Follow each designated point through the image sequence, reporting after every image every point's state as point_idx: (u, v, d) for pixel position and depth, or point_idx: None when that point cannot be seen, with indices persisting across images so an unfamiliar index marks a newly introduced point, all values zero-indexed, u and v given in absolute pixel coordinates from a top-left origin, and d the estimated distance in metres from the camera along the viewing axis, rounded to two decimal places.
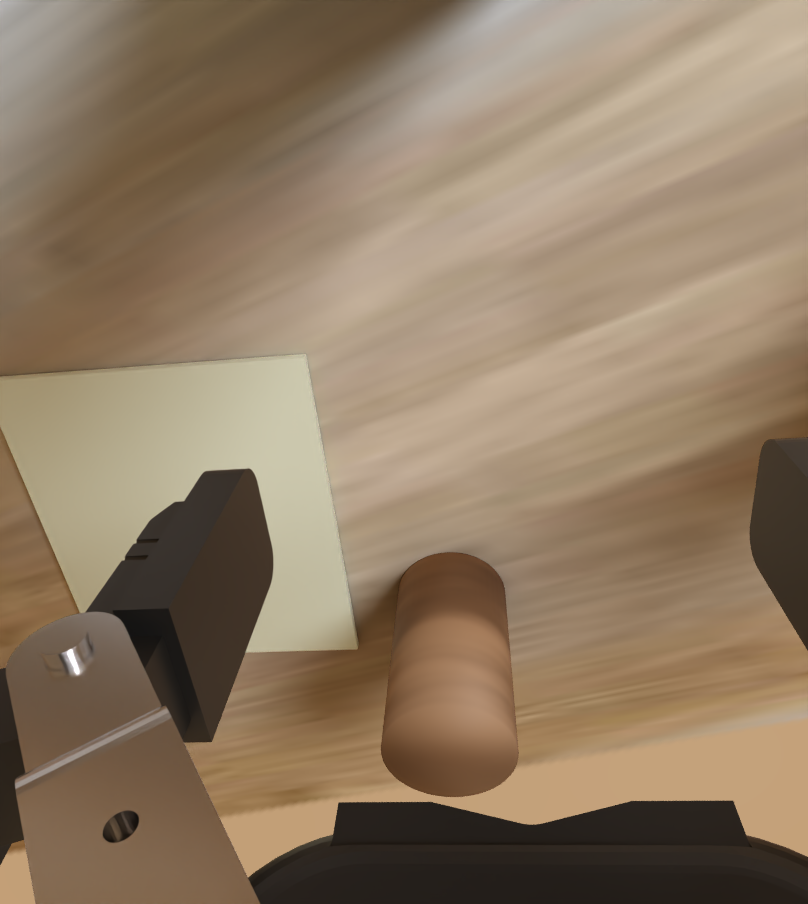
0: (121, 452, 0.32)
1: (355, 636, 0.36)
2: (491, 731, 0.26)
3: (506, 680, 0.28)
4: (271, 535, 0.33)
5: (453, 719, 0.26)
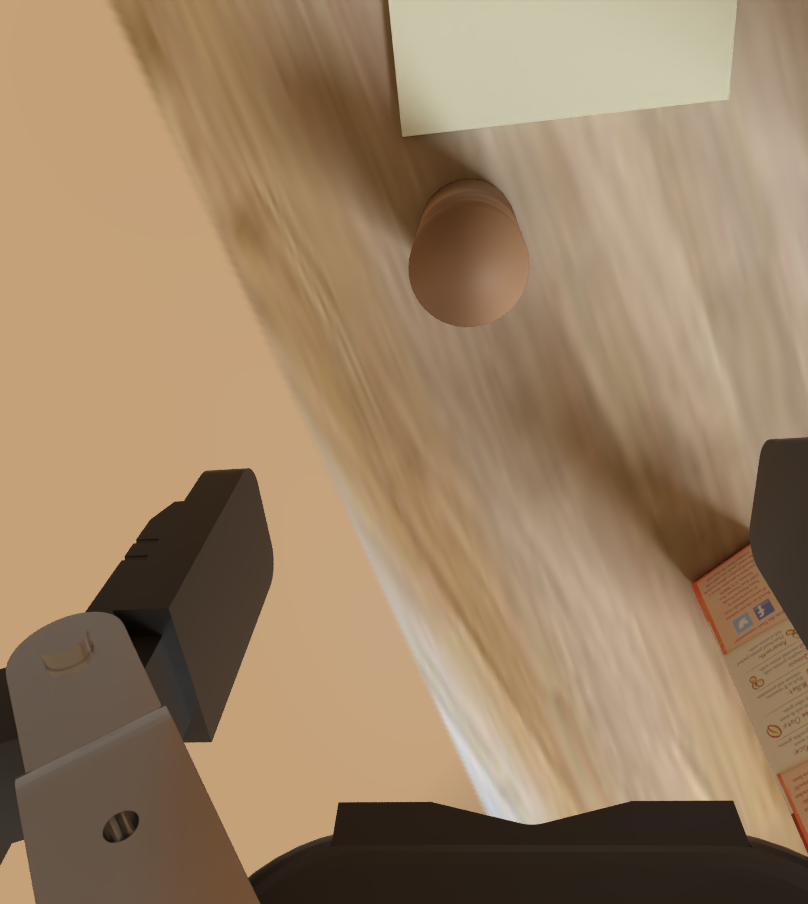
0: None
1: (418, 134, 0.36)
2: (497, 304, 0.32)
3: None
4: (546, 50, 0.34)
5: (512, 271, 0.31)
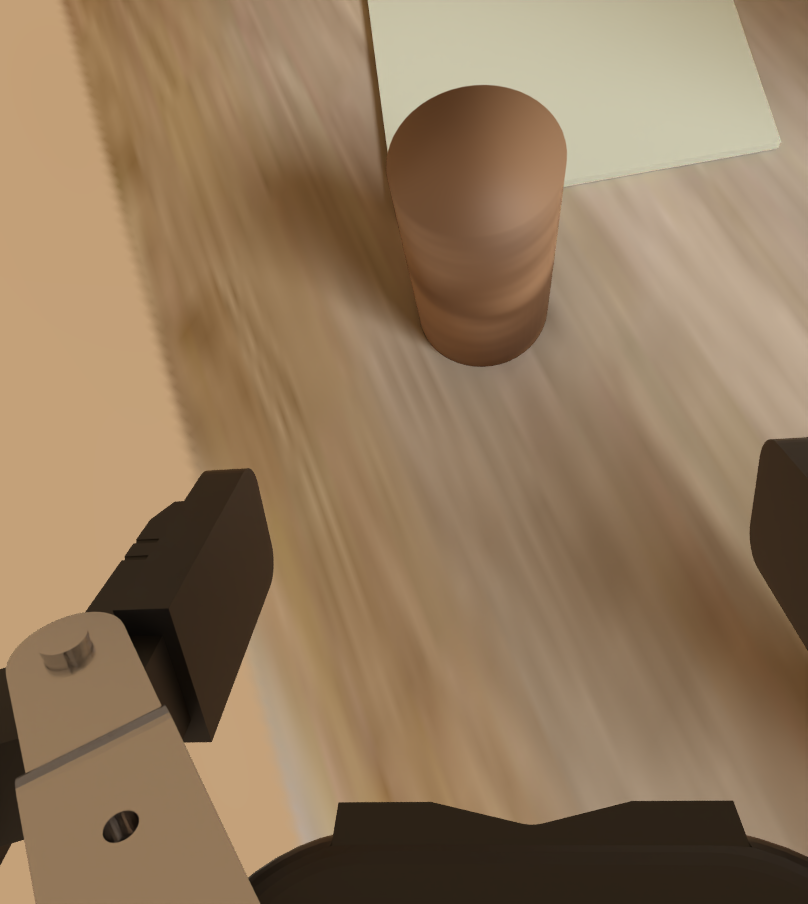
0: None
1: None
2: (525, 198, 0.20)
3: (524, 268, 0.22)
4: None
5: (541, 154, 0.20)
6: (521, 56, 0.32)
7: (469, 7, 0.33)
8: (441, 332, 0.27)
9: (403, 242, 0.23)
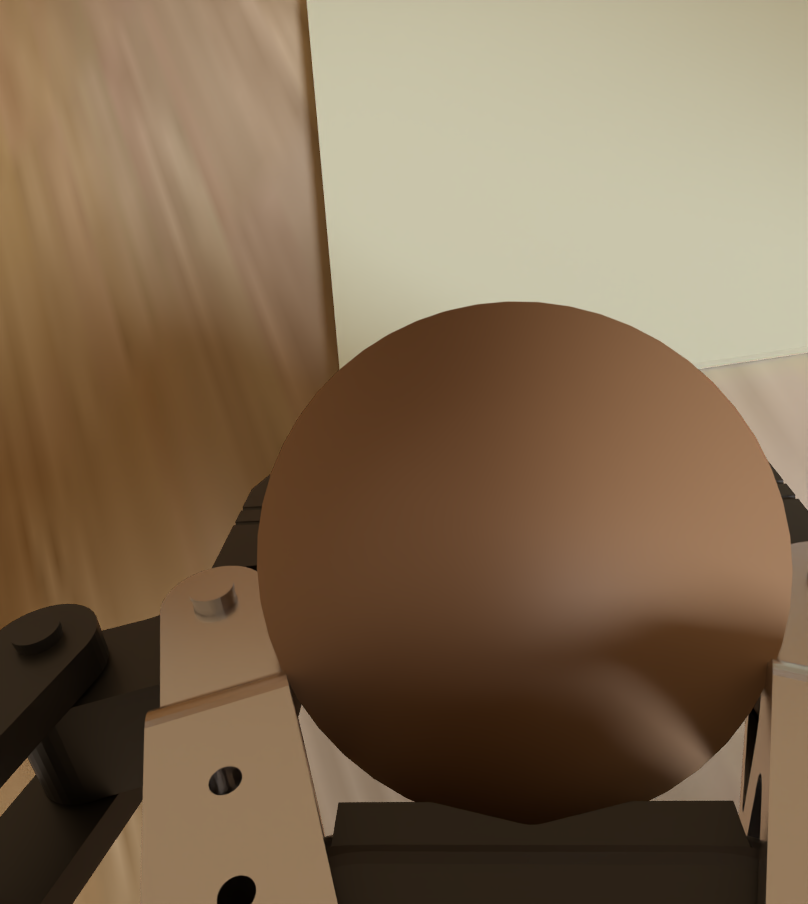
0: (769, 33, 0.19)
1: None
2: (670, 698, 0.06)
3: None
4: (629, 254, 0.17)
5: (712, 542, 0.07)
6: (567, 134, 0.19)
7: (477, 47, 0.20)
8: None
9: None
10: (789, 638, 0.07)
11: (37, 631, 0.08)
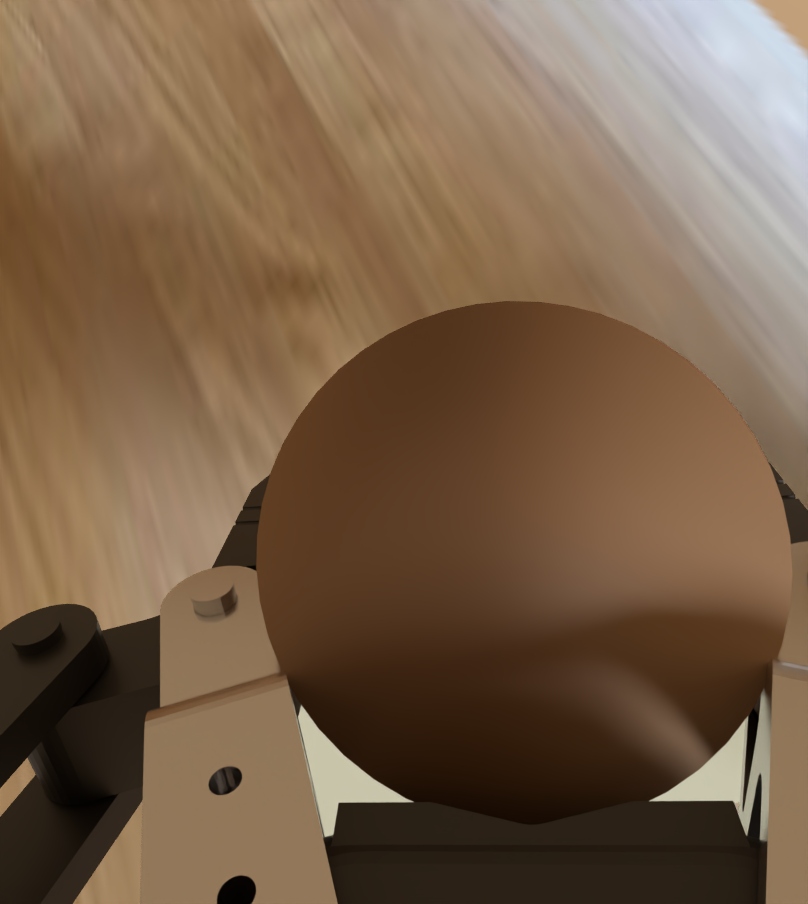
0: None
1: None
2: (669, 700, 0.06)
3: None
4: None
5: (711, 542, 0.07)
6: None
7: None
8: None
9: None
10: (789, 638, 0.07)
11: (37, 631, 0.08)
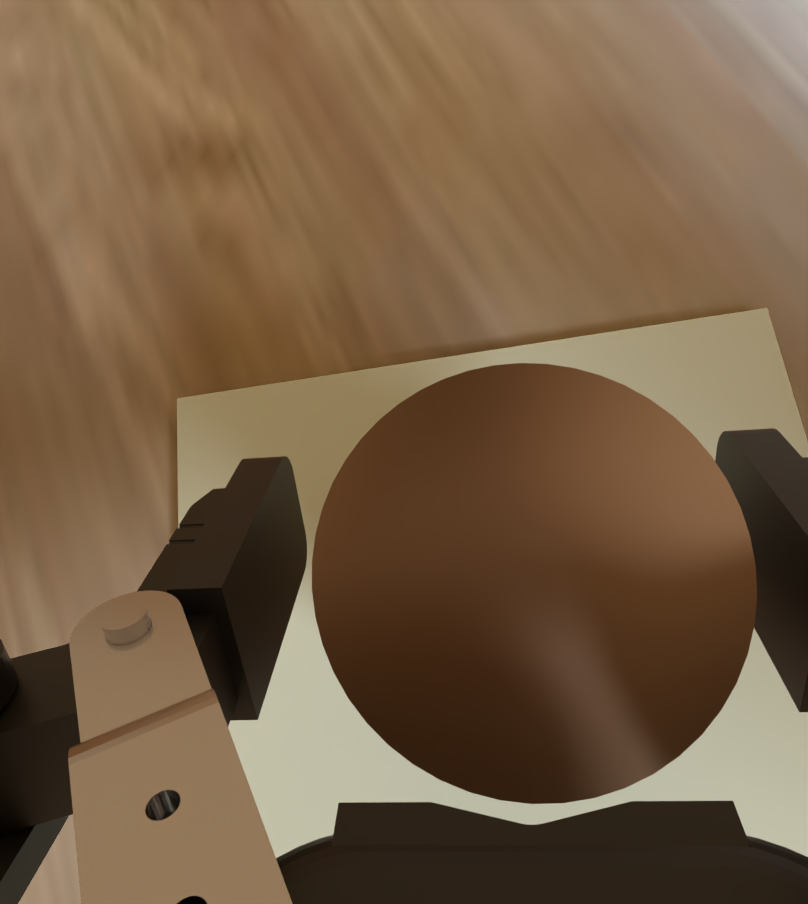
0: None
1: None
2: (656, 699, 0.08)
3: None
4: (498, 801, 0.16)
5: (691, 568, 0.08)
6: None
7: None
8: None
9: None
10: None
11: None
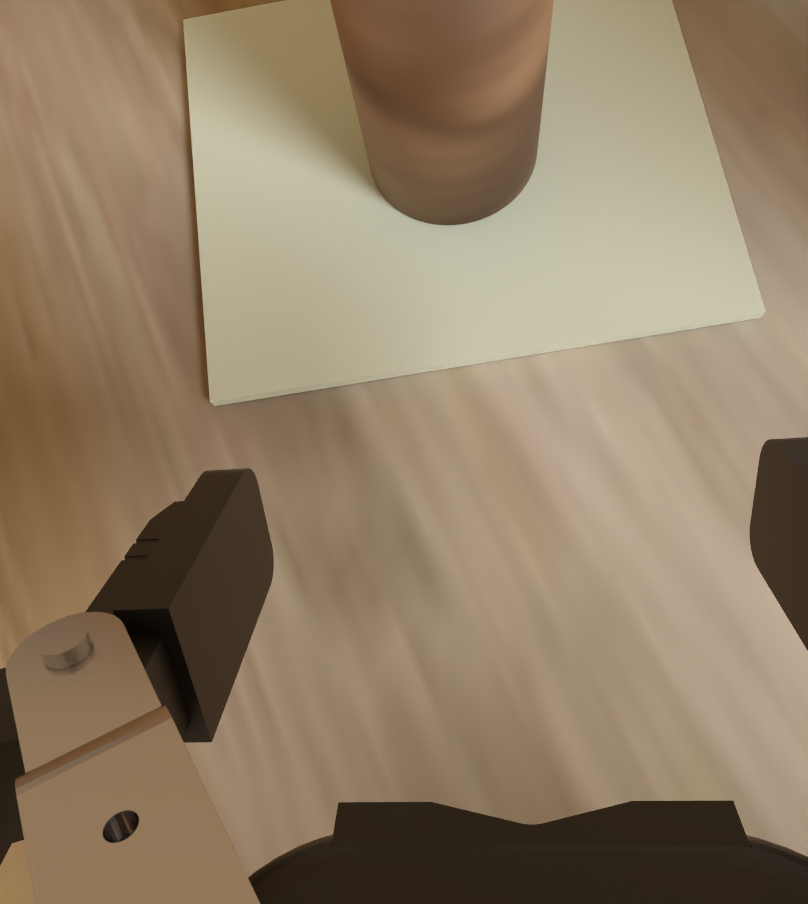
0: (567, 76, 0.23)
1: (237, 398, 0.21)
2: None
3: (508, 30, 0.15)
4: (443, 266, 0.21)
5: None
6: None
7: (328, 83, 0.23)
8: (396, 169, 0.20)
9: (333, 5, 0.16)
10: None
11: None
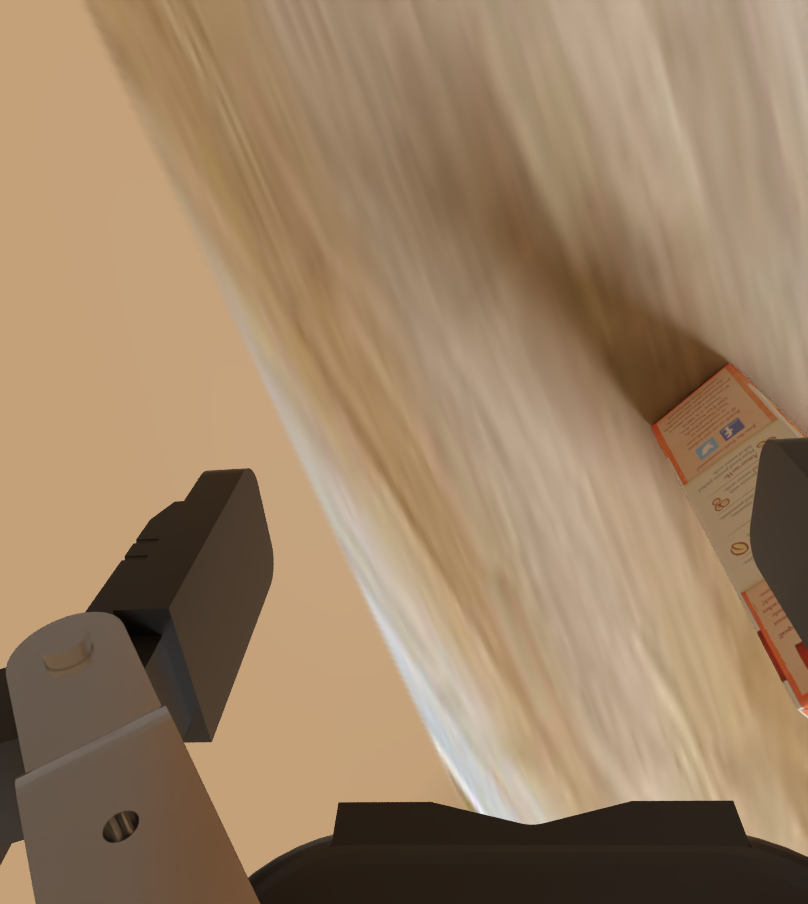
0: None
1: None
2: None
3: None
4: None
5: None
6: None
7: None
8: None
9: None
10: None
11: None
